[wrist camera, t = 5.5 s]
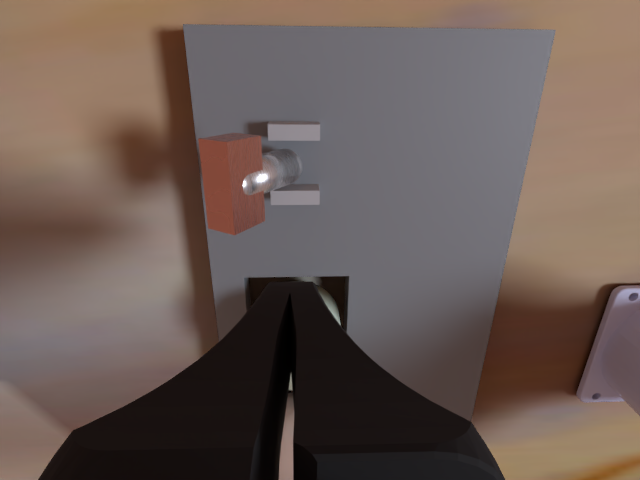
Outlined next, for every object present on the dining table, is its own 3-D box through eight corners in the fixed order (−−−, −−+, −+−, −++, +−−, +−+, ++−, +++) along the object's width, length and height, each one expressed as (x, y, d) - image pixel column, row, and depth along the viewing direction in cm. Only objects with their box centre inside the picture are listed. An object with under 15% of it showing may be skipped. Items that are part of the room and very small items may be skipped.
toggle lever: (309, 126, 15) (229, 142, 12) (309, 201, 16) (237, 236, 13) (279, 124, 16) (195, 138, 12) (281, 196, 17) (205, 228, 13)
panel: (533, 33, 16) (572, 27, 14) (452, 445, 26) (467, 481, 23) (193, 28, 16) (174, 21, 13) (237, 452, 25) (231, 490, 23)
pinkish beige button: (336, 390, 22) (341, 433, 19) (334, 444, 24) (339, 490, 21) (260, 392, 22) (255, 435, 19) (264, 446, 23) (259, 493, 21)
